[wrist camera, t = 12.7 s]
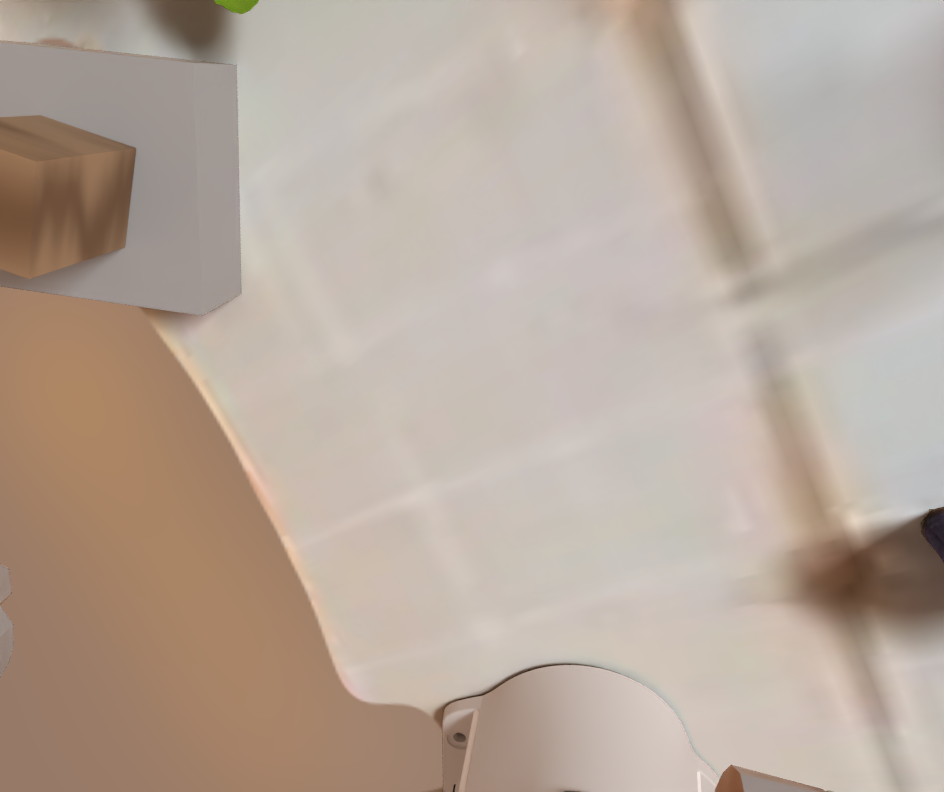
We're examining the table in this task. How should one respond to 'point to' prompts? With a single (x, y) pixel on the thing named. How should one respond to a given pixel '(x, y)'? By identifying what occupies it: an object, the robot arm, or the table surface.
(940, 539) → the flask
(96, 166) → the walnut block
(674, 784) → the robot arm
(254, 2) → the potted flower
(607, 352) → the table surface
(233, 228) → the plate
